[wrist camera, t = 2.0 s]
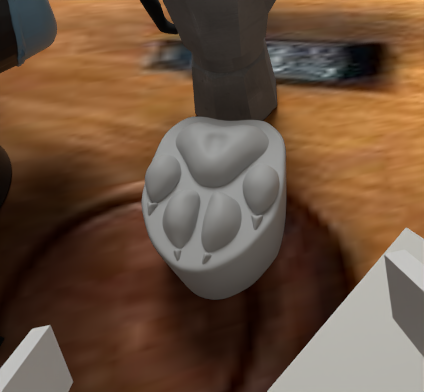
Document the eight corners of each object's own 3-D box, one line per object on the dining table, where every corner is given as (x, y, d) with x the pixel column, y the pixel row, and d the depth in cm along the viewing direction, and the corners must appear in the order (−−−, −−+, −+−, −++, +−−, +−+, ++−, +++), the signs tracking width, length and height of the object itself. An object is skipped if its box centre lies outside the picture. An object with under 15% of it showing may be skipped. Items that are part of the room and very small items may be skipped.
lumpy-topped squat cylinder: (292, 170, 35) (293, 106, 27) (272, 311, 29) (267, 279, 22) (186, 161, 38) (162, 101, 30) (149, 288, 32) (107, 253, 24)
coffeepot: (310, 79, 40) (325, -129, 24) (279, 148, 36) (274, -43, 21) (183, 55, 45) (129, -128, 29) (146, 114, 41) (62, -59, 26)
